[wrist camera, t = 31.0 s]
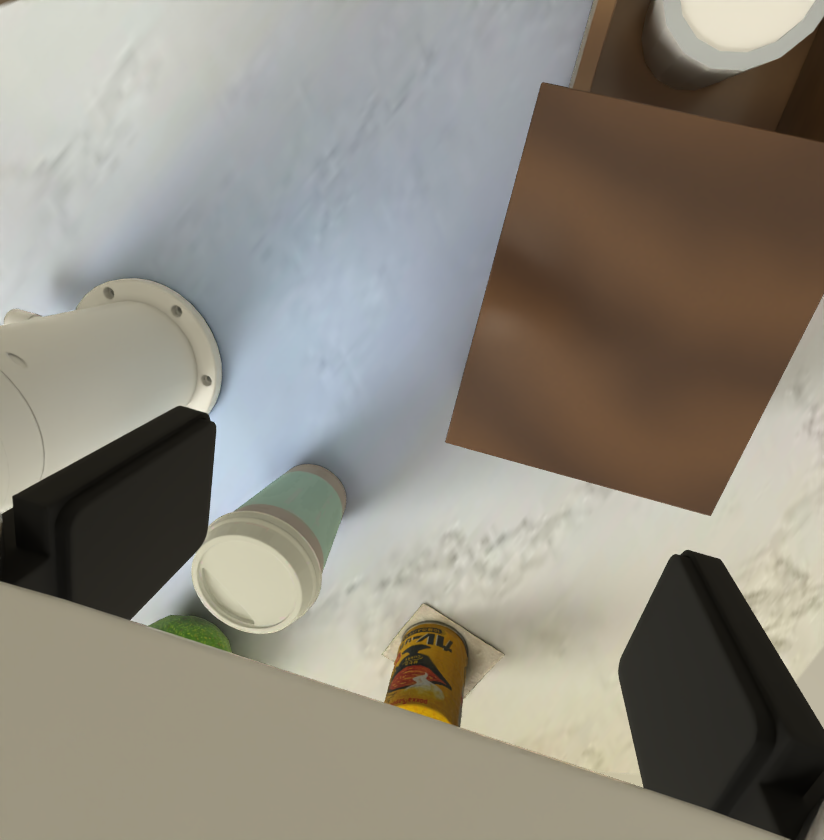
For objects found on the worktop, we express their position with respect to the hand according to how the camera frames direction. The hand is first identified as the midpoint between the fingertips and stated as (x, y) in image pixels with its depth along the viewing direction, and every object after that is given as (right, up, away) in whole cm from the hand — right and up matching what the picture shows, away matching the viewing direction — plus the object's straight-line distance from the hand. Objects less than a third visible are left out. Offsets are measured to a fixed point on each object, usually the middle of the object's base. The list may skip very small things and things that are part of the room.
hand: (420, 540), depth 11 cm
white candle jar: (+15, +23, +17) cm, 32 cm away
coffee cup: (-8, -4, +34) cm, 35 cm away
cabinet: (+12, +11, +24) cm, 29 cm away
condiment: (+2, -18, +37) cm, 42 cm away
